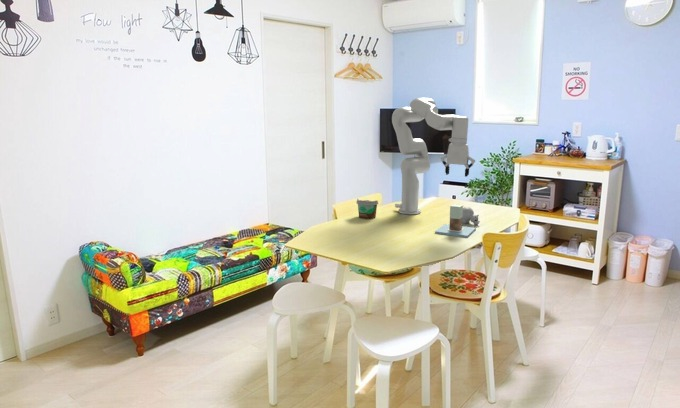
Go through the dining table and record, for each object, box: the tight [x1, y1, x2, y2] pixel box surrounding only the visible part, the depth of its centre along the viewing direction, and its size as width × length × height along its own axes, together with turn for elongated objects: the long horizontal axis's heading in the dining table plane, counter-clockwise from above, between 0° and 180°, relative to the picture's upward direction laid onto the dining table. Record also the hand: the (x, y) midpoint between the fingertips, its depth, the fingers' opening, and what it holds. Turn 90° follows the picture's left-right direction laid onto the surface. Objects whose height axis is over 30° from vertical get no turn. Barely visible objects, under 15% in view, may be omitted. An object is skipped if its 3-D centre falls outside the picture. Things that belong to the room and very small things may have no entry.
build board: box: [434, 223, 477, 239], centre depth 249 cm, size 16×16×1 cm
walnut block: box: [449, 217, 463, 231], centre depth 248 cm, size 5×5×6 cm
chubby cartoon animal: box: [462, 206, 481, 226], centre depth 263 cm, size 7×12×8 cm, turn 43°
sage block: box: [449, 203, 464, 219], centre depth 247 cm, size 5×5×6 cm
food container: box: [356, 198, 379, 220], centre depth 274 cm, size 12×6×10 cm, turn 68°
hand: (456, 175), depth 254 cm, fingers open, 9 cm apart
